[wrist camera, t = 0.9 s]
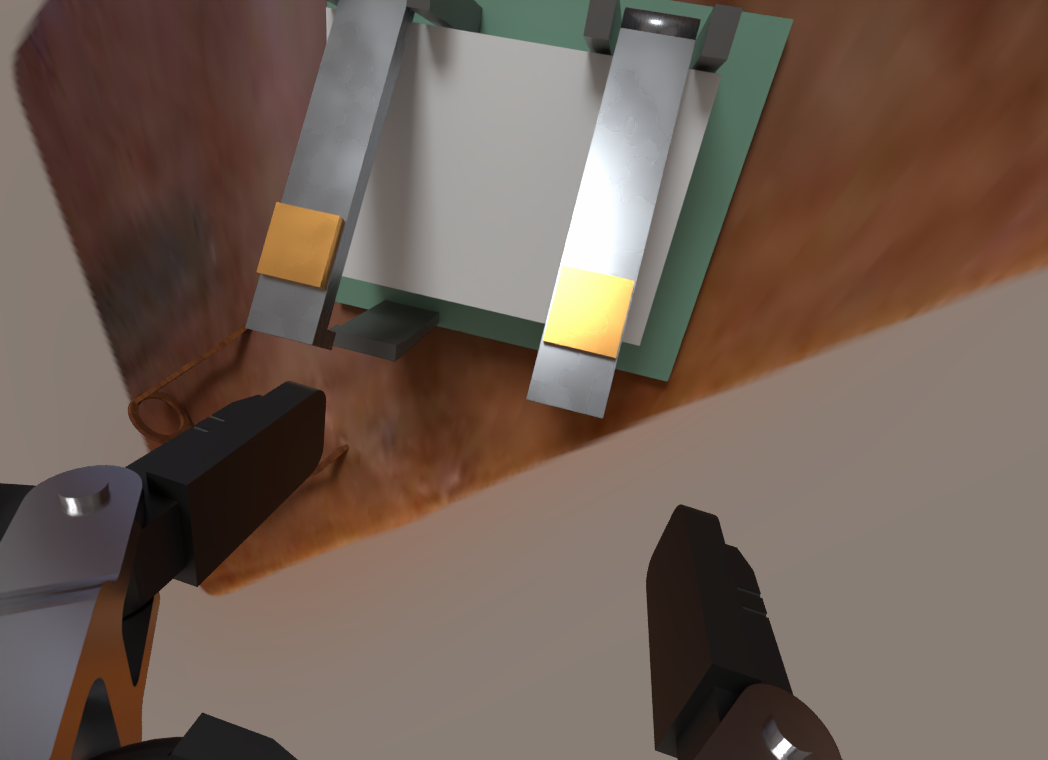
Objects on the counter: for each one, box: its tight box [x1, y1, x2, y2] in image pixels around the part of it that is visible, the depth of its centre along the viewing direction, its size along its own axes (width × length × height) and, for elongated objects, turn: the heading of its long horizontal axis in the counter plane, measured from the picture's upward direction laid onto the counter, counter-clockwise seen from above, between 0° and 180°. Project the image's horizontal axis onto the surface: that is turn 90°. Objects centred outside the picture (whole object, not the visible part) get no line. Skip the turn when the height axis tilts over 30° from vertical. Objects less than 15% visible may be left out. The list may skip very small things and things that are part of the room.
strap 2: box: [527, 7, 701, 418], centre depth 19 cm, size 16×3×2 cm, turn 170°
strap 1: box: [245, 0, 415, 350], centre depth 21 cm, size 16×3×2 cm, turn 170°
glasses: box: [128, 324, 349, 477], centre depth 40 cm, size 13×13×5 cm
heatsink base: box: [326, 0, 793, 382], centre depth 26 cm, size 20×24×8 cm
